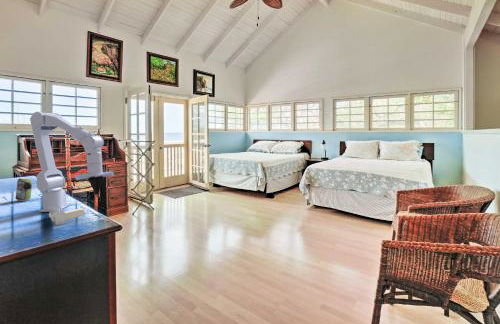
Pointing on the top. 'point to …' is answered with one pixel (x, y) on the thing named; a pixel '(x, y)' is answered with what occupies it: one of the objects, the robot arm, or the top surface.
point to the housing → (57, 214)
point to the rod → (72, 214)
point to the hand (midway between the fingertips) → (96, 194)
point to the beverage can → (23, 189)
